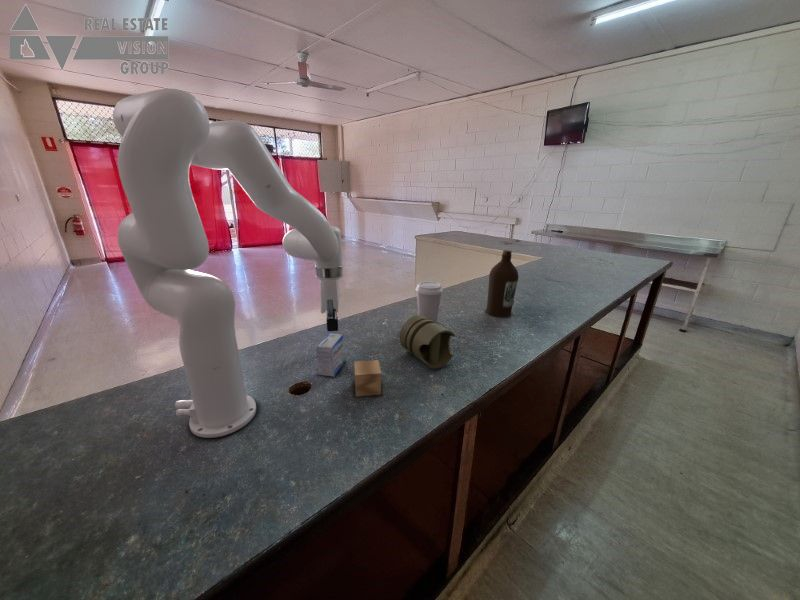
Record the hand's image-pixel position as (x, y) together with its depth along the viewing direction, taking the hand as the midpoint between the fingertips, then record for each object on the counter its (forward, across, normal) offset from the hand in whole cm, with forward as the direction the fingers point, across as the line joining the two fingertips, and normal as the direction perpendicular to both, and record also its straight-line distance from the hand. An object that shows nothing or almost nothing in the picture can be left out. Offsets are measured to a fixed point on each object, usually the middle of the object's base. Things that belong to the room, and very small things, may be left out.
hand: (332, 329), depth 95 cm
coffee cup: (+6, -13, +33) cm, 36 cm away
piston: (+6, +10, +27) cm, 29 cm away
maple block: (+6, +22, +9) cm, 24 cm away
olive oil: (+6, -20, +64) cm, 67 cm away
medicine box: (+6, +12, 0) cm, 13 cm away
